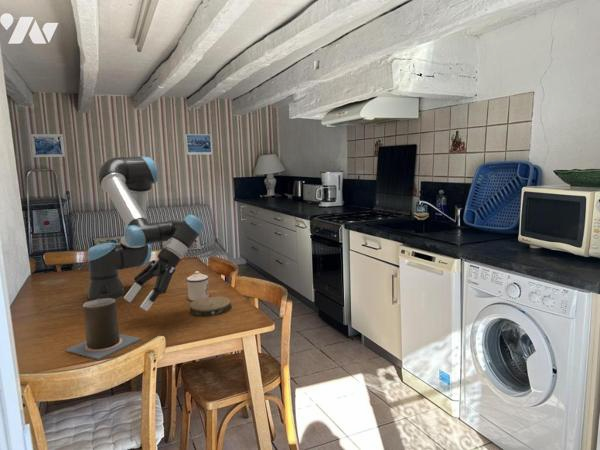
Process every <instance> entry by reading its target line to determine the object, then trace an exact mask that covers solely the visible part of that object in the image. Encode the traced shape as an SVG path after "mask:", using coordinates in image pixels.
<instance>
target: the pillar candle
mask: <svg viewBox="0 0 600 450" xmlns="http://www.w3.org/2000/svg"><path fill="white" fill-rule="evenodd" d="M82 312H83V320H84V329H85V331H84V332H85V341H87V347H88V348H90V349H103V348H108V347H112V346H114V345H116V344H117V343H119V341H120V337H119V334H120V330H119V329H120V328H119V321H118V319H119V318H118V311H117V301H116V299H115V298H105V299H97V300H89V301H87V302H84V304H83V305H82Z"/></svg>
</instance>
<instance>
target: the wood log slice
mask: <svg viewBox="0 0 600 450" xmlns="http://www.w3.org/2000/svg"><path fill="white" fill-rule="evenodd" d="M231 300H232V299H230V298H228V297H225V296H209V297H207V298H202V299H198V300H195V301H192V302H191V303H189V310H190V314H191V315H192V316H195V317H214V316H219V315H223V314H226V313H228V312H229V311H231V310H232V301H231Z"/></svg>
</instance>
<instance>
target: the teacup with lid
mask: <svg viewBox="0 0 600 450" xmlns="http://www.w3.org/2000/svg"><path fill="white" fill-rule="evenodd" d="M186 284H187V294H188V299H189V300H190V301H192V302H194V301H195V300H198V299H202V298H207V297H210V290H209V276H208V275H207V274H203V273H200V271H198V270H197V271H195V272H194V273H193V274H191V275H189V276H188V277H187V278H186Z"/></svg>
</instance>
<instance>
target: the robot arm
mask: <svg viewBox="0 0 600 450" xmlns="http://www.w3.org/2000/svg"><path fill="white" fill-rule="evenodd" d="M97 174H98V175H97V176H98V178H97V179H98V184H99V185H100V187H101V189H102V190H103V191H104V192H106V193H107V194H108V196H109V198H110V199H111V202H112V203H113V205H114V207H115V209H116V210H117V212H118V214H119V216H120V217H121V220H122V221H123V223H124V234H123V235H124V236H123V237H121V239H120V243H119V244H116V243H115V242H104V243H99V244H96V245H94V246H91V247H89V248H88V250H87V262H88V263H87V264H88V272H89V279H90V281H89V286H88V290H87V299H88V300H89V301H93V300H97V299H105V298H112V299H115V298H119V297H121V296H123V295H124V294H125V289H124V288H125V287H124V286H123V283H122V281H121V280H120V276H119V271H120V270H121V271H122V270H126V269H127V270H128V269H132V268H139V267H141V266H145V265H147V264H148V265H147V266H146V267H145V268H144V269H143V270H142V271H141V272H139V273H138V274H137V275H136V276H135V277H134V278H133V280H134V283H133V284H132V285H131V287H130V289H129V290H128V292H127V293H126V294H125V296H124V297H123V299H124V300H126V301H127V302H128V303H131V302H132V301H133V300H134V298H135V297H136V296H137V294H138V293H139V292H140V291H141V288H143V287H144V284H145V283H147V282H148V281H149V280H151V279H153V277H155V278H156V281H155V285H154V287H153V288H152V290H150V292H149V294H148V295H147V296H146V297H145V299H144V300H143V302H142V303H141V304H140V306H139V307H140V308H141V309H143V310H144V311H146V312H148V311H149V309H150V308H151V306H152V305H153V304H154V302H155V301H156V299H157V298H158V297H159V295H161V294H163V295H164V294H166V292H167V291H168V288H169V284H170V282H171V279H172V278H173V275H174V274H175V272H176V269H175V268H176V267H177V266H178V264H179V263H180V262H181V259H183V258H184V257H185V255H186V254H187V252H188V251H189V249H190V248H191V246H192V245H193V244H194V243H195V242H196V240H197V238H198V237H199V235H201V233H202V232H203V230H204V228H205V224H204V223H203V221H202V219H200V218H198V217H197V216H196V215H193V214H188V215H186V216H185V218H184V219H183V220H180V219H179V220H178V219H167V220H165V221H158V222H149V221H148V219H147V218H146V217H147V204H148V203H147V202H148V192H150V191H151V190H152V187H153V185H154V184H156V183H157V182H158V181H159V180H158V179H159V172H158V167H157V165H156V162H155V161H154V160H153V158H151V157H149V156H141V155H140V156H114V157H111V158H109V159H107V160H106V161H104V163H103V164H102V165H101V166H100V168H99V171H98V173H97ZM165 242H166V243H165ZM158 243H165V245H164V247H163V248H161V250H160V251H159V253H158V254H157V259H158V261H157V260H155V259H152V261H151V258H152V246H151V244H153V245H154V244H158ZM150 261H151V262H150ZM149 262H150V263H149Z"/></svg>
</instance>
